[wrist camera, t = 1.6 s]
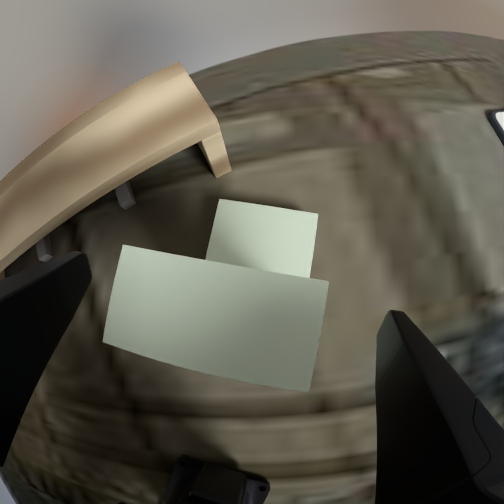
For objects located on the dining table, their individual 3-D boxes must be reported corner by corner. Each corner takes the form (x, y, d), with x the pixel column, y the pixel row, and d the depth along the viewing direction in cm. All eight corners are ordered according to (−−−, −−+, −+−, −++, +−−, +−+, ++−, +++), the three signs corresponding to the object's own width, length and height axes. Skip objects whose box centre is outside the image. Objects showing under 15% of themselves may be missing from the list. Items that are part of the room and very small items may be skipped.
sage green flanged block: (293, 348, 17) (330, 394, 6) (198, 330, 18) (87, 336, 6) (313, 224, 19) (360, 98, 8) (224, 210, 20) (169, 80, 8)
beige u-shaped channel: (231, 170, 20) (217, 120, 15) (4, 310, 19) (-42, 302, 14) (196, 111, 22) (179, 61, 16) (-6, 247, 21) (-46, 232, 15)
